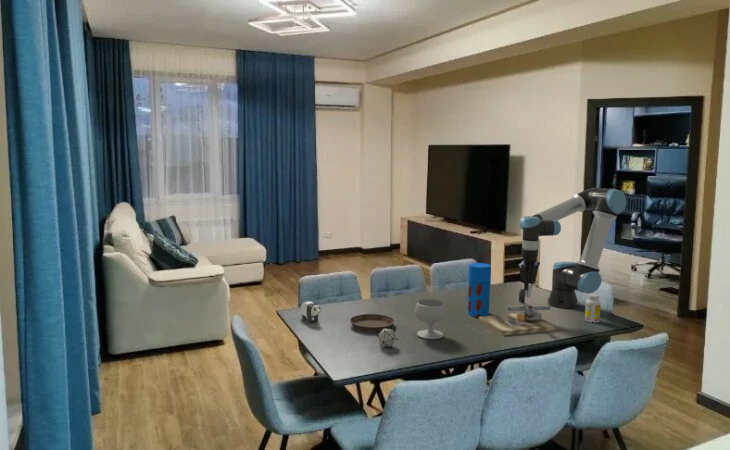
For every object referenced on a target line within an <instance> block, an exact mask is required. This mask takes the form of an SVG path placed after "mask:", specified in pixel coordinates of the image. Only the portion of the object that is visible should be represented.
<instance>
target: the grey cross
mask: <svg viewBox="0 0 730 450" xmlns="http://www.w3.org/2000/svg"><path fill="white" fill-rule="evenodd" d="M518 291H519V292H518V304H519V305H520V306H508V307H507V311H509V312H518V311H519V313H520V314H523V315H524V316H525V319H524V320H525V321H531V322H537V321H540V320H541V318H542V313H540V311H550V310H551V308H552V307H551V305H545V306H544V305H543V306H542V305H539V306H536V305H535V306H533V305H530V304H528V303H526V301H525V300H526V296H525V289H524V288H519V289H518Z"/></svg>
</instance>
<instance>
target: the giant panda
mask: <svg viewBox="0 0 730 450" xmlns="http://www.w3.org/2000/svg"><path fill="white" fill-rule="evenodd" d="M321 310H322V308H321V307H320V306H319V303H316V304H315V303H314V302H313V301H305V302H303V303H302V304H301V306H300V315H301V319H302V320H303V321H306V319H307V323H308V324H312V323H313V322H315V323H318V321H319V315H320V313H322V311H321ZM312 320H313V321H312Z"/></svg>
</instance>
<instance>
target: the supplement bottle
mask: <svg viewBox="0 0 730 450" xmlns="http://www.w3.org/2000/svg"><path fill="white" fill-rule="evenodd" d="M587 295H588V296H587V297H588V299H586V300H585V309H584V320H585V321H586V322H587V321H588V322H589V323H592V322H594V323H596V322H597V323H599V322H600V319H601V317H600V316H601V303H602V302H601V301H600V300H599V297H600V296H599V294H597V293H596V294H595V293H588V294H587ZM594 323H593V324H594Z"/></svg>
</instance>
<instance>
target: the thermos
mask: <svg viewBox="0 0 730 450" xmlns="http://www.w3.org/2000/svg"><path fill="white" fill-rule="evenodd" d="M491 271H492V268H491V265H490V264H489V263H485V262H484V263H483V262H472V263H468V276H467V277H468V280H467V306H466V307H467V308H466V309H467V310H466V311H467V315H468V316H470V317H474V318H479V317H481V316H490V315H489V313H490V300H491V299H490V298H491V297H490V296H491V295H490V294H491V292H490V291H491Z"/></svg>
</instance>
